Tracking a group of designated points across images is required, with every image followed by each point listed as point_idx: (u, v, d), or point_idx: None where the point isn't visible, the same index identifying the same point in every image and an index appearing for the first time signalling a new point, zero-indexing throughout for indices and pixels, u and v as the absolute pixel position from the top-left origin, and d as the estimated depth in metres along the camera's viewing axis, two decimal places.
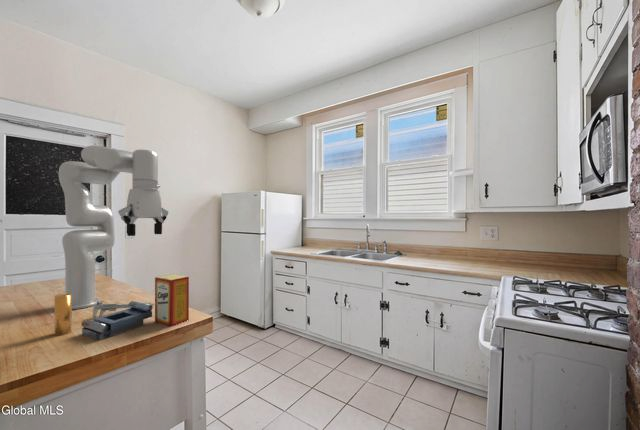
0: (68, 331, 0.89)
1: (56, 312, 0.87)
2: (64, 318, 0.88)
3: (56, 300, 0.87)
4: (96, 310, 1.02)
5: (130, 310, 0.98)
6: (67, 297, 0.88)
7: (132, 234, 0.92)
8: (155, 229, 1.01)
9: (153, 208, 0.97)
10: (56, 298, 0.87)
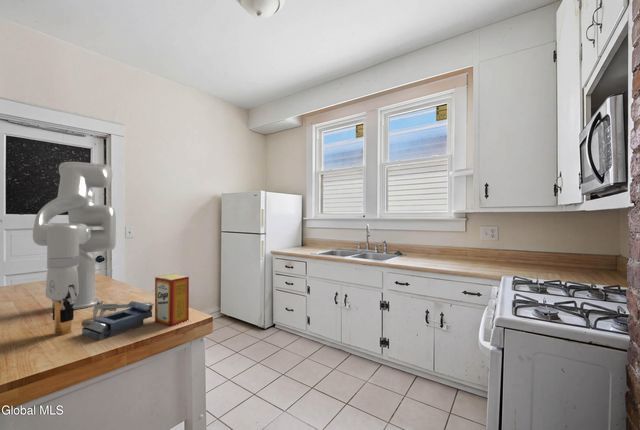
0: (68, 331, 0.89)
1: (56, 312, 0.87)
2: None
3: None
4: (97, 309, 1.02)
5: (130, 310, 0.98)
6: (67, 297, 0.88)
7: (71, 318, 0.89)
8: None
9: None
10: None
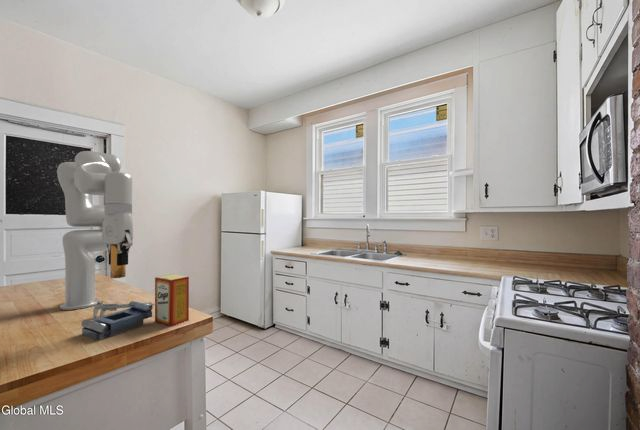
0: (123, 275, 0.92)
1: (113, 256, 0.91)
2: None
3: (113, 244, 0.91)
4: (97, 309, 1.02)
5: (130, 310, 0.98)
6: (122, 242, 0.92)
7: (126, 263, 0.92)
8: None
9: None
10: None
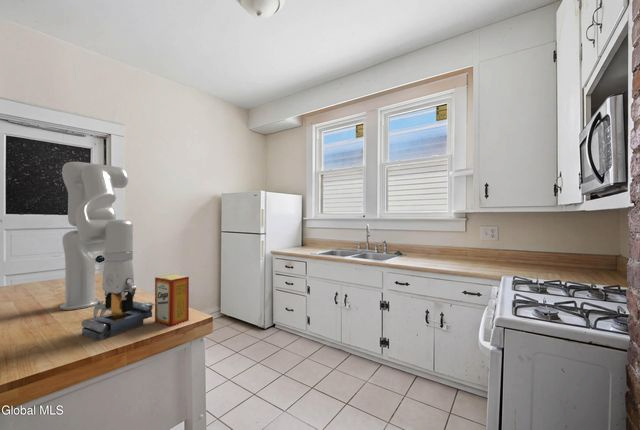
0: None
1: (113, 308, 0.91)
2: (120, 313, 0.91)
3: (113, 296, 0.91)
4: (97, 309, 1.02)
5: None
6: None
7: (131, 308, 0.91)
8: (109, 303, 0.94)
9: None
10: (113, 295, 0.91)
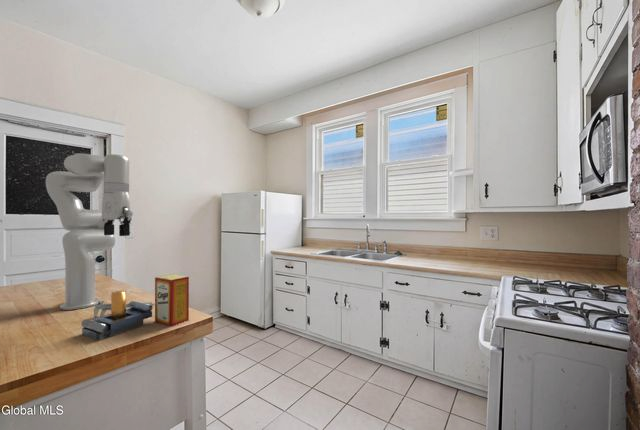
0: None
1: (113, 308, 0.91)
2: (120, 313, 0.91)
3: (113, 296, 0.91)
4: (98, 309, 1.02)
5: (130, 310, 0.98)
6: (122, 294, 0.92)
7: (128, 234, 1.01)
8: (107, 230, 1.03)
9: None
10: (113, 295, 0.91)
